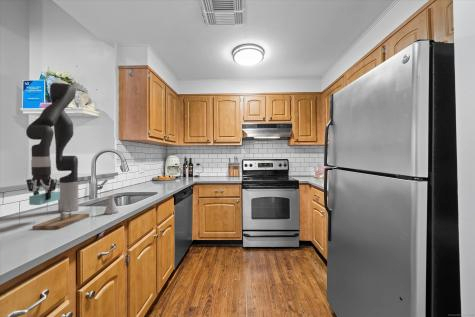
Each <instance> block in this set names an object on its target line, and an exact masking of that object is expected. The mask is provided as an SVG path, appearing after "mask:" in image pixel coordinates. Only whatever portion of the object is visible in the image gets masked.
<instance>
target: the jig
mask: <svg viewBox="0 0 475 317" xmlns="http://www.w3.org/2000/svg"><path fill="white" fill-rule="evenodd" d="M59 215H60V216H57V217H55V218H51V219H50V220H46V221H44V222H41V223H40V222H39V223H38V224H34V225H32V230H60V229H64V228H65V227H67V226H70V225H72V224H74V223H77V222H80V221H82V220H84V219H87V218H89V217H90V213H72V212H68V213H67V212H61V211H60V214H59Z"/></svg>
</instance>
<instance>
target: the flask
mask: <svg viewBox="0 0 475 317" xmlns="http://www.w3.org/2000/svg"><path fill="white" fill-rule="evenodd" d="M107 197H108V198H107V199H108V200H107V204H106V207H105V210H104V212H103V213H104V214H105V215H113V214H117V213H119V209H118V207H117V204H116V201H115V195H113V194H111V195H108V196H107Z"/></svg>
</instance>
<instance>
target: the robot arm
mask: <svg viewBox="0 0 475 317" xmlns="http://www.w3.org/2000/svg"><path fill="white" fill-rule="evenodd" d="M76 94H77V93H76V89H75V87H74V85H73V84H71V83H61V82H52V83H51V84H50V86H49V95H50V100H51V101H50V102H51V104H49V105H47V106H46V107H45V108H44V109H43V110H42V112H41V113H40V114H39V117H38V118H36V119H35V120H34V121H32V122H31V123H30V124H29V125H28V126H27V128H26V131H25V133H26V134H25V135H26V136H27V138H28V139H30V140H34V141H35V140H37V141H39V140H40V141H39V143H38V144H34V145H32V146H31V148H30V150H31V163H30V164H31V167H30V168H31V176H32V178H29V179H26V185H27V188H28V192H31V193H32V194H33V195H38V194H40V189H41V187H42V188H43V189H44V191H45V192H44V193H45V196H46V200H50V198H51V192H55V191H56V187H57V181H58V179H57V178H52V177H51V175H52V160H51V153H50V152H51V149H50V148H51V145H52V141H53V138H54V141H55V168H56V170H57V171H58V172H70V171H71V172H70V173H68V174H67V175H65V176H62V177H60V178H59V181H58V182H59V192H60V199H59V200H57V202H58V203H57V207H58V208H57V209H58V210H57V211H58V212H60V213H61V212H66V213H67V212H68V213H69V212H74V211H78V210H79V183H78V182H79V178H78V172H79V171H78V170H79V166H78V165H79V158H78V156H77V155H64V154H63V153H64V150H65V147H67V145H68V144H69V142H70V141H71V139H72V138H73V136H74V122H73V121H72V119H71V118H70V116H69V115H68V114H67V113H66V111H65V109H66V108H68V106H69V105H70V104H71V103H72V102H73V100H74V99H75V98H76ZM52 127H53V128H52ZM33 195H32V196H33Z"/></svg>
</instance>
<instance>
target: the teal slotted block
mask: <svg viewBox="0 0 475 317" xmlns="http://www.w3.org/2000/svg"><path fill="white" fill-rule="evenodd" d="M45 193H46V192H42V193H39V194H38V195H30V196H28V200H29V201H28V202H29V203H28V204H29V206H41V205H44V204H48V203H51V202H57V201H58V200H59V199H60V191H51V198H50V200H46V196H45Z"/></svg>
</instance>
